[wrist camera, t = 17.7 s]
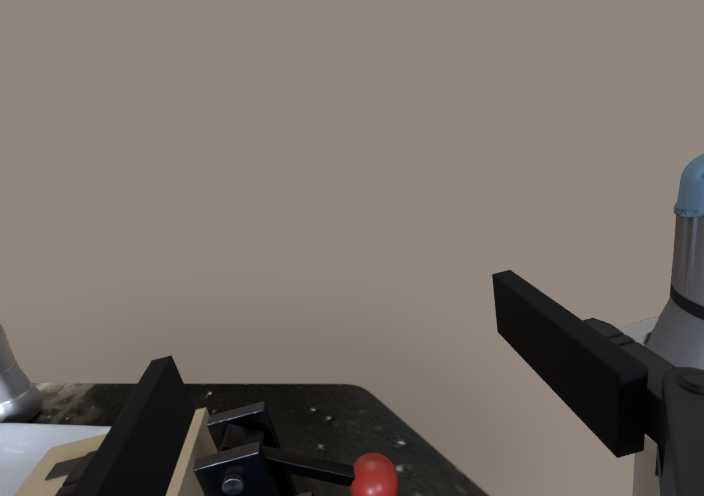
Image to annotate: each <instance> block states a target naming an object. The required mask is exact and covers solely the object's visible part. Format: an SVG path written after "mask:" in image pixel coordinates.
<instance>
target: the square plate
mask: <svg viewBox="0 0 704 496" xmlns="http://www.w3.org/2000/svg"><path fill="white" fill-rule="evenodd" d="M110 428H111V427H109V426H82V425H55V424H28V423H0V496H14V495H15V493H16V492H17V491H18V489H19V488H20V487H21V485H22V484H23V483H24V481H25V480H26V479H27V478H28V476H29V475H30V474H31V472H32V471H33V470H34V468H35V467H36V466H37V464H38V463H39V462H40V460H41V459H42V458H43V456H44V455H45V454H46V453H47V451H48V450H49V449H50V448H52V447H56V446H60V445H64V444H67V443H71V442H75V441H79V440H83V439H87V438H90V437H94V436H98V435H102V434H106V433H108V432H109V430H110Z"/></svg>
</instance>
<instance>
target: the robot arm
mask: <svg viewBox="0 0 704 496" xmlns="http://www.w3.org/2000/svg"><path fill="white" fill-rule="evenodd" d="M674 213H675V214H676V227H675V241H674V254H673V265H672V276H671V288H670V298H669V301H668V302H667V304H666V306H665V308H664V309H663V311H662V313H661V315H660V317H659V319H658V320H657V322H656V324H655V326H654V328H653V330H652V331H651V332H649V333H643V334H640V343H639V342H635V340H634V339H633V338H631V337H630V336H628V335H624V333H623V332H622V331H620V330H619V329H617V328H616V327H614V326H612V325H611V324H609V323H606V322H603V321H600V320H597V319H595V318H591V319H587V320H583V321H582V320H581V319H579V318H578V317H576V316H575V315H574V314H572V313H571V312H569V311H568V310H566V309H565V308H564V307H562V306H561V305H559V304H558V303H556V302H555V301H554V300H552V299H551V298H549V297H548V296H546V295H545V294H544V293H542V292H541V291H539V290H538V289H536V288H535V287H534V286H532V285H531V284H529V283H528V282H526V281H525V280H524V279H522V278H521V277H519V276H518V275H516V274H515V273H514V272H512V271H511V270H508V271H504V272H500V273H496V274H493V275H492V277H493V287H494V298H495V308H496V319H497V330H498V333H499V334H500V335H501V336H502V337H503V338H504V339H505V340H506V341H507V342H508V343H509V344H510V345H511V346H512V347H513V348H514V350H516V352H517V353H518V354H519V355H520V356H521V357H522V358H523V359H524V360H525V361H526V362H527V363H528V364H529V365H530V366H531V367H532V369H533V370H534V371H535V372H536V373H537V374H538V375H539V376H540V377H541V378H542V379H543V380H544V381H545V382H546V383H547V384H548V385H549V386H550V387H551V388H552V390H553V391H554V392H555V393H556V394H557V395H558V396H559V397H560V398H561V399H562V400H563V401H564V402H565V403H566V404H567V405H568V406H569V407H570V408H571V410H572V411H573V412H574V413H575V414H576V415H577V416H578V417H579V418H580V419H581V420H582V421H583V422H584V423H585V424H586V425H587V426H588V428H590V430H591V431H592V432H593V433H594V434H595V435H596V436H597V437H598V438H599V439H600V440H601V441H602V442H603V443H604V444H605V445H606V447H607V448H608V449H609V450H610V451H611V452H612V453H613V454H614V455H615V456H616V457H617V458H619V457H622V456H626V455H629V454H633V453H636V452H640V451H643V450H644V435H645V434H647V435H648V436H649V437H650V438H651V439H652V440H653V441H654V442H655V443H657V444H658V445H657V458H656V471H655V475H657V476H659V484H660V496H704V154H702V155H700V156H699V157H697V158H695V159H694V160H693V161H691V162H690V163H689V164H688V165H687V166H686V168H685V169H684V171H683V173H682V175H681V181H680V187H679V193H678V200H677V203H676V204H675V206H674ZM644 344H645V346H643V345H644ZM194 414H195V409H194V406H193V404H192V402H191V399H190V397H189V395H188V393H187V390H186V388H185V386H184V383H183V381H182V379H181V376H180V374H179V372H178V369H177V367H176V365H175V363H174V360H173V358H172V356H168V357H164V358H160V359H156V360H153V361H151V363H150V365H149V366H148V368H147V369H146V371H145V373H144V374H143V376H142V377H141V379H140V381H139V382H138V384H137V386H136V387H135V389H134V391H133V392H132V394H131V395H130V397H129V399H128V400H127V402H126V404H125V405H124V407H123V409H122V410H121V412H120V414H119V415H118V417H117V418H116V420H115V422H114V423H113V425H112V427H111V428H110V430H109V432H108V433H107V435H106V436H105V438H104V440H103V441H102V443H101V445H100V446H99V448H98V450H95V451H92V452H88V453H87V454H86V455H85V456H84V457H83V458H82V459H81V460H80V461H79V462H78V463H77V464H76V465H75V466H74V467H73V468H72V470H71V472H70V473H69V475H68V476H67V478H66V479H65V481H64V482H63V484H62V487H61V488H59V490H58V492H57V493H56V495H55V496H166V493H167V491H168V488H169V485H170V482H171V479H172V476H173V474H174V471H175V468H176V465H177V462H178V459H179V457H180V454H181V451H182V448H183V445H184V442H185V440H186V437H187V434H188V431H189V428H190V425H191V423H192V420H193V417H194Z"/></svg>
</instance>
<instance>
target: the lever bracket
mask: <svg viewBox="0 0 704 496" xmlns="http://www.w3.org/2000/svg"><path fill="white" fill-rule="evenodd" d="M228 424H233V425H237V426H242V427H246V428H250V429H254V430H258V431H263V432H264V438H263V445H264V446H268V447H272V448H277V449H281V447H280V444H279V441H278V438H277V436H276V433H275V430H274V427H273V424H272V421H271V418H270V416H269V413H268V410H267V407H266V404H265V402H260V403H256V404H252V405H249V406H245V407H241V408H237V409H233V410H229V411H226V412H222V413H218V414H214V415H210V416H209V418H208V421H207V428H208V430H209V432H210V435H211V437H212V439H213V442H214V444H215V446H216V449H217V450H218V447H219V444H220V442H221V439H222V437H223V435H224V432H225V430H226V427H227V425H228ZM193 471H194V473H195V476H196V478H197V480H198V482H199V484H200V486H201V489H202V491H203V493H204V495H205V496H313V493H312V491H309V492H306V493H302V494H298V495H297V493H296V490H295V487H294V484H293V481H292V478H291V476H290V474H289V473H285V472H280V471H275V470H271V469H270V468H269V465H268V462H267V460H266V457H265V454H264V452H263V449H262V446H261V444H260V442H255V443H251V444H247V445H244V446H240V447H236V448H233V449H229V450H225V451H221V452H218V453H214V454H210V455H206V456H203V457H199V458H197V459H196V462H195V465H194V468H193Z"/></svg>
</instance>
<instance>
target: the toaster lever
mask: <svg viewBox="0 0 704 496" xmlns="http://www.w3.org/2000/svg"><path fill="white" fill-rule="evenodd" d="M263 438H264V432H263V431H258V430H254V429H250V428H246V427H242V426H237V425H233V424H228V425H227V427H226V430H225V432H224V435H223V437H222V439H221V442H220V444H219V447H218V450H217V453H218V452H221V451H225V450H229V449H233V448H236V447H240V446H244V445H247V444H251V443H255V442H260V444H261V446H262V449H263V452H264V454H265V457H266V460H267V462H268V465H269V468H270V469H271V470H275V471H280V472H285V473H289V474H294V475H299V476H303V477H308V478H313V479H317V480H322V481H327V482H331V483H336V484H340V485H345V486H349V490H350V493H351V495H352V496H396V494H397V490H398V475H397V472H396V469H395V467H394V465H393V464H392V462H391V461H390V460H389V459H388V458H386V457H385V456H383V455H381V454H378V453H367V454H364V455H362V456H361V457H359V458H358V459H357V460H356V461H355V462H354V464H353V465H352V466H351V465H346V464H342V463H338V462H333V461H329V460H325V459H320V458H316V457H311V456H307V455H303V454H298V453H294V452H290V451H285V450H281V449H277V448H272V447H268V446H264V445H263Z"/></svg>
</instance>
